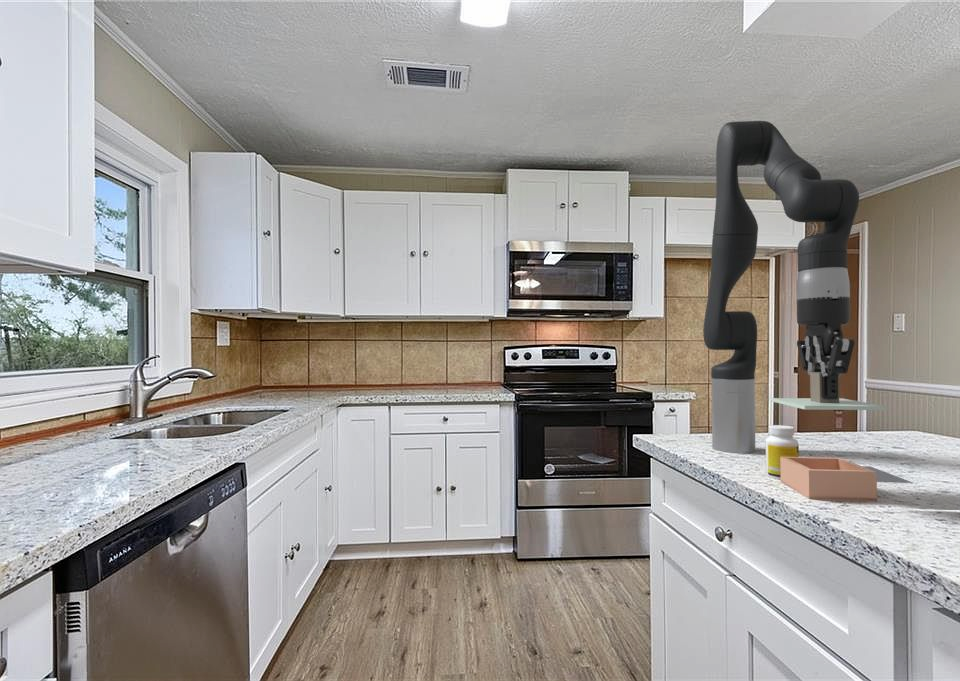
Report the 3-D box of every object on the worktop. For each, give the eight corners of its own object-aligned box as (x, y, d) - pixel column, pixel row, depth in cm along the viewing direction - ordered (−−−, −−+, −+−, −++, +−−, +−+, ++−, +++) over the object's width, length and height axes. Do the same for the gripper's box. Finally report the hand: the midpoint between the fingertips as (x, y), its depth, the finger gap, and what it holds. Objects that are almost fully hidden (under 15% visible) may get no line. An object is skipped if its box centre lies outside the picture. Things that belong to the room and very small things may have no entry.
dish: (780, 484, 91) (780, 456, 91) (840, 485, 89) (840, 457, 89) (809, 501, 81) (808, 470, 81) (877, 503, 79) (876, 471, 80)
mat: (806, 467, 103) (806, 465, 103) (870, 468, 101) (870, 466, 101) (840, 482, 91) (840, 480, 91) (913, 484, 90) (913, 482, 90)
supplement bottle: (804, 483, 92) (803, 429, 92) (771, 481, 93) (771, 428, 93) (792, 475, 97) (791, 424, 97) (761, 474, 98) (760, 424, 98)
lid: (771, 401, 92) (771, 370, 92) (842, 401, 90) (841, 370, 90) (804, 409, 80) (804, 374, 80) (887, 410, 79) (886, 374, 79)
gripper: (780, 301, 93) (781, 394, 93) (821, 293, 79) (823, 402, 79) (823, 300, 92) (825, 394, 92) (873, 292, 78) (875, 402, 78)
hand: (824, 397), depth 85 cm, fingers closed on lid, 3 cm apart
